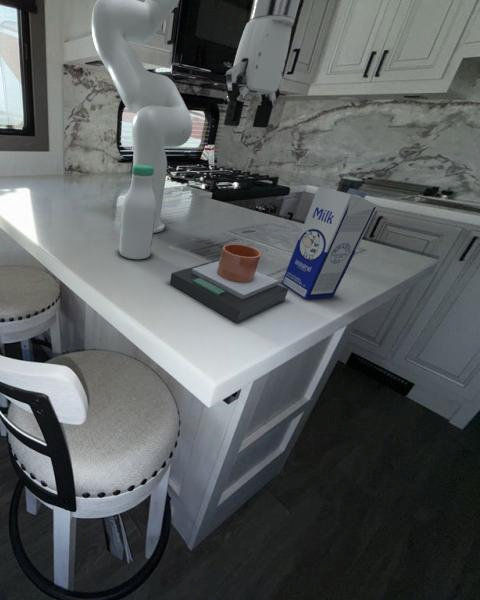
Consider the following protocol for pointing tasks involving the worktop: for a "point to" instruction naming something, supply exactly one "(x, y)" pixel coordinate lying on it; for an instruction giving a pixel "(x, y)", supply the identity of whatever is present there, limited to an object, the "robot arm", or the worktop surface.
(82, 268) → the worktop surface
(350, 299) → the worktop surface
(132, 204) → the milk bottle
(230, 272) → the flower pot
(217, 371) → the worktop surface
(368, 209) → the milk carton
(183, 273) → the kitchen scale
